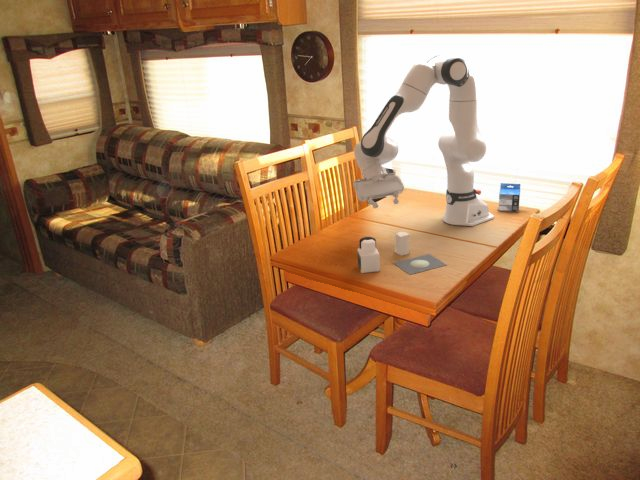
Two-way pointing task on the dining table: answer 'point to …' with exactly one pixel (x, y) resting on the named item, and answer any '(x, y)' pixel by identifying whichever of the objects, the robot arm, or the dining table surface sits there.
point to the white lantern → (368, 255)
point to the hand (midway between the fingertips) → (386, 205)
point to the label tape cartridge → (509, 197)
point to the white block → (402, 243)
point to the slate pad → (419, 264)
